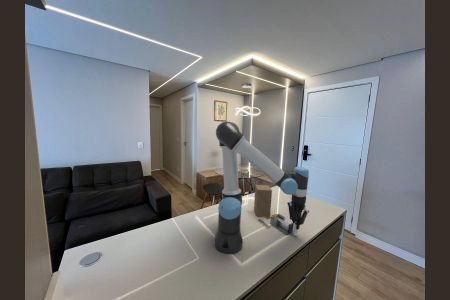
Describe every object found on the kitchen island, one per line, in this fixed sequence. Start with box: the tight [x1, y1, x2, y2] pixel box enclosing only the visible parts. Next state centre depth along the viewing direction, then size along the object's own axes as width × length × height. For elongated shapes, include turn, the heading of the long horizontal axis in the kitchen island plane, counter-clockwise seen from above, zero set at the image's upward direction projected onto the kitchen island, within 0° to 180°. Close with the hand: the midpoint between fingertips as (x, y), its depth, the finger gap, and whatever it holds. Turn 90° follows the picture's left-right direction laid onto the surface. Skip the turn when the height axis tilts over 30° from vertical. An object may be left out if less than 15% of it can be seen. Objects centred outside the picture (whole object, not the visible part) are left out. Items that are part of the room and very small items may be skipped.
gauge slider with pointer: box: [265, 213, 293, 234], centre depth 103 cm, size 11×15×5 cm
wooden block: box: [253, 184, 273, 218], centre depth 120 cm, size 10×10×20 cm
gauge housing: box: [256, 213, 293, 236], centre depth 106 cm, size 14×20×5 cm
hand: (295, 233), depth 97 cm, fingers closed
